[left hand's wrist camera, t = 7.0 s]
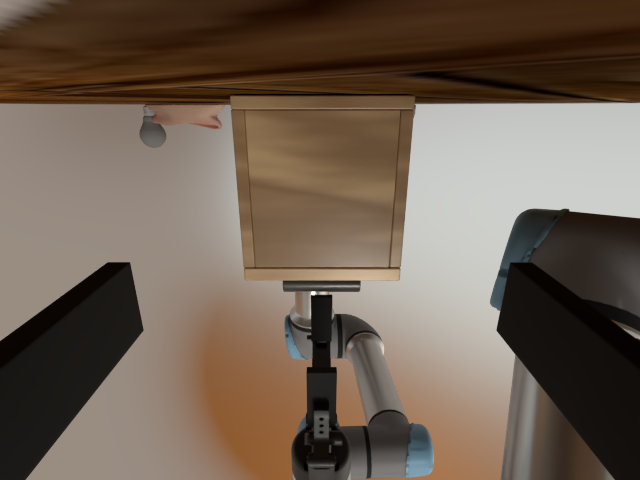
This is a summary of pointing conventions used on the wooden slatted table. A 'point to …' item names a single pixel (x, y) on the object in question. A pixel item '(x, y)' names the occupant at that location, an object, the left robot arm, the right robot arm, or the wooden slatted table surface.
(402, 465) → the right robot arm
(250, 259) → the chest
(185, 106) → the anatomical model
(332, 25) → the wooden slatted table surface
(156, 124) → the light bulb
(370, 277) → the lid
